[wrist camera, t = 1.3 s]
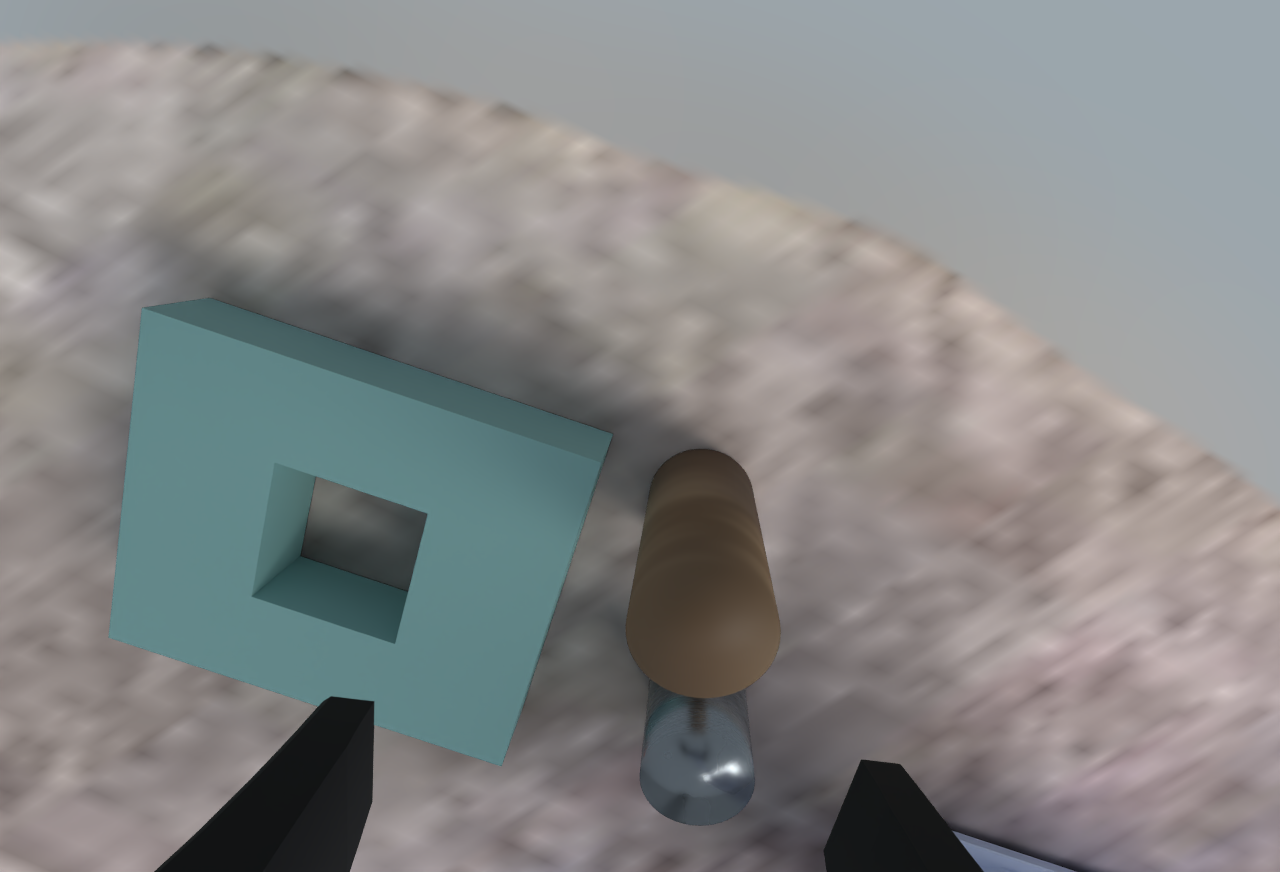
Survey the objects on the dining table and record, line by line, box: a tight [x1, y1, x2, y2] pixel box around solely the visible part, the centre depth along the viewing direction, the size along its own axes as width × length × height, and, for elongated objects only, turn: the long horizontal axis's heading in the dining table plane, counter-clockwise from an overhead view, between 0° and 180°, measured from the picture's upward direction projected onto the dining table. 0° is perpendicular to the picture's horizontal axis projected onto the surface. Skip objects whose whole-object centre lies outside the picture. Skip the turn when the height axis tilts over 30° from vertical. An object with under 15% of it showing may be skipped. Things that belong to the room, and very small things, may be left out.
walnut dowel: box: [626, 449, 781, 698], centre depth 17 cm, size 3×3×7 cm
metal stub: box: [640, 679, 755, 826], centre depth 20 cm, size 3×3×4 cm
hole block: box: [109, 298, 613, 766], centre depth 20 cm, size 12×10×2 cm
